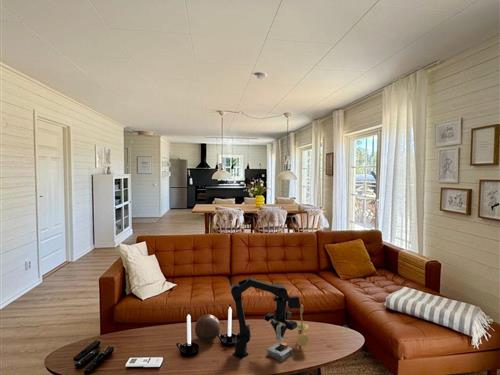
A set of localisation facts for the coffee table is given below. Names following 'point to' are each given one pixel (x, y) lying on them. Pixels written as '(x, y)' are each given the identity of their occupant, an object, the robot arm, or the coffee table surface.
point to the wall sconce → (302, 338)
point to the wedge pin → (279, 333)
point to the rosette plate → (283, 349)
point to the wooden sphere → (207, 328)
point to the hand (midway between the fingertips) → (279, 336)
